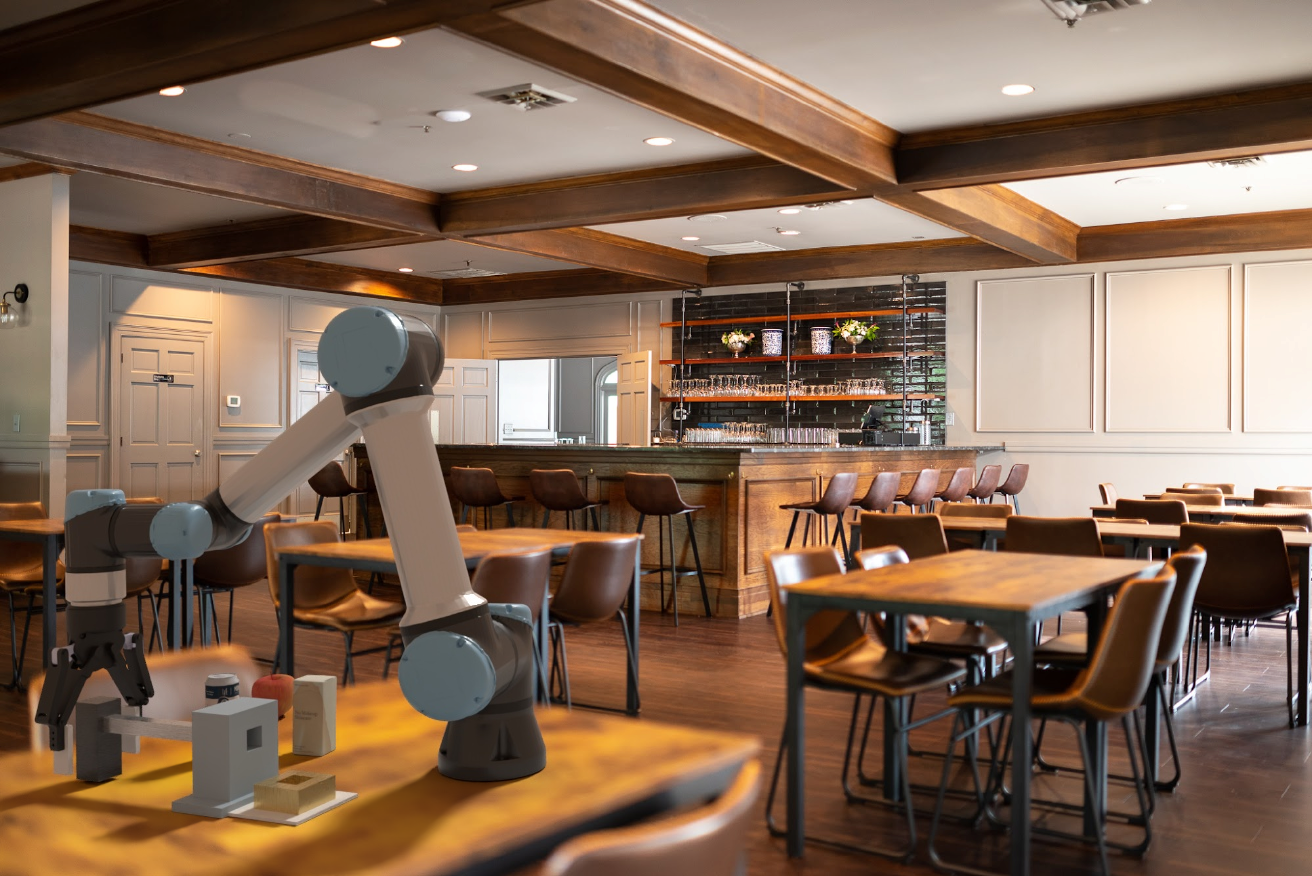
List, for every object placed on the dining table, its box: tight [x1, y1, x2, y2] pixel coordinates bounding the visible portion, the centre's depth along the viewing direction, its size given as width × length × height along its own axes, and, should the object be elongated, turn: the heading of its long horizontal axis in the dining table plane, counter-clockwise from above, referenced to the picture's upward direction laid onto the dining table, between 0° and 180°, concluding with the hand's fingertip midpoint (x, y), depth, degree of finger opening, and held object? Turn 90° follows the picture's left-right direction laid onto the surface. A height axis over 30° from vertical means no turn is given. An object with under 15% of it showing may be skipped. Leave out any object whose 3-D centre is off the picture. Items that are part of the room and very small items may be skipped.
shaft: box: [74, 695, 192, 783], centre depth 156 cm, size 24×4×10 cm, turn 68°
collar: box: [254, 769, 337, 815], centre depth 147 cm, size 3×7×7 cm
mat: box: [227, 790, 359, 826], centre depth 147 cm, size 11×12×1 cm
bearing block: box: [171, 696, 280, 819], centre depth 150 cm, size 8×14×12 cm, turn 158°
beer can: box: [204, 672, 240, 708], centre depth 170 cm, size 5×5×12 cm
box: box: [291, 674, 338, 757], centre depth 173 cm, size 5×4×11 cm
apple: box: [250, 670, 296, 718], centre depth 195 cm, size 7×7×8 cm
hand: (98, 762), depth 159 cm, fingers open, 10 cm apart
